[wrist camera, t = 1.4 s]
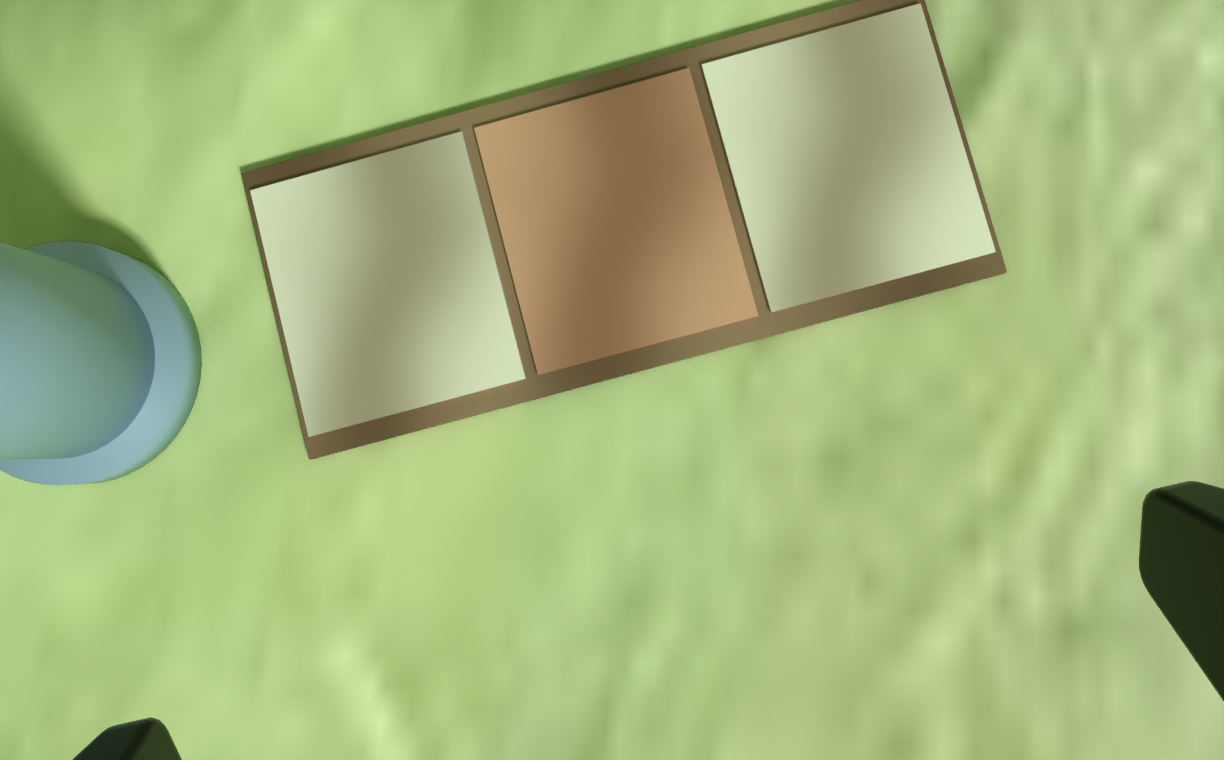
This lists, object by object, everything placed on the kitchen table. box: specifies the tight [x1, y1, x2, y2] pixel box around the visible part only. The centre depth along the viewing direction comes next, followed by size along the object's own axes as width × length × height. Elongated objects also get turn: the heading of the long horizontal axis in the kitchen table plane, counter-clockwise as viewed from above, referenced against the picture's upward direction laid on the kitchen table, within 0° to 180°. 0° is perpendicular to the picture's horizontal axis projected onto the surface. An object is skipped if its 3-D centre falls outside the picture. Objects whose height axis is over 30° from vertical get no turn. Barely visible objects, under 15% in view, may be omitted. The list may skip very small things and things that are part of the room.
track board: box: [241, 0, 1007, 459], centre depth 23 cm, size 16×7×1 cm, turn 105°
